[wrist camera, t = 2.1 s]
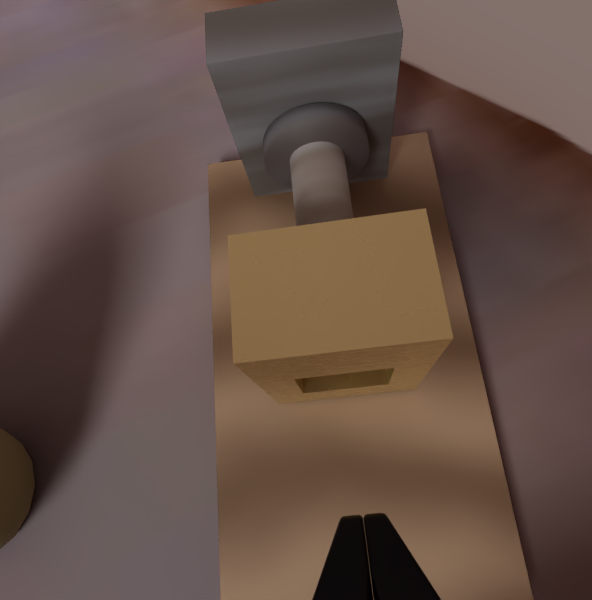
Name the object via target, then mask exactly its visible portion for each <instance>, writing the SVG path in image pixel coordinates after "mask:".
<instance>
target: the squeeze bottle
mask: <svg viewBox="0 0 592 600" xmlns="http://www.w3.org/2000/svg"><path fill="white" fill-rule="evenodd" d="M34 488H35V480H34V472H33V463H32V460H31V458H30V457H29V455H28V453H27V451H26V450H25V448H24V446H23V445H22V443H21V442H20V441H18V440H17V439H16V438H14V437H13V436H12V435H10V434H9V433H7V432H6V431H5V430H3V429H2V428H0V549H1V548H2V547H3V546H4V545H5V544H6V543H7V542H9V541H10V540H11V539H12V538H13V537H14V536H15V535H16V533H17V531H18V530H19V528H20V526H21V525H22V523H23V521H24V520H25V518H26V516H27V515H28V513H29V510H30V506H31V502H32V497H33V493H34Z"/></svg>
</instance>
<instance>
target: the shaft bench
mask: <svg viewBox="0 0 592 600" xmlns="http://www.w3.org/2000/svg"><path fill="white" fill-rule="evenodd" d="M205 36H206V64H207V67H208V70H209V73H210V75H211V78H212V81H213V84H214V86H215V89H216V92H217V94H218V97H219V100H220V103H221V105H222V108H223V111H224V114H225V116H226V119H227V122H228V125H229V127H230V130H231V133H232V135H233V138H234V141H235V144H236V146H237V149H238V152H239V155H240V157H241V159H240V160H234V161H227V162H220V163H214V164H208V182H209V216H210V250H211V285H212V319H213V353H214V387H215V421H216V455H217V489H218V523H219V558H220V592H221V600H312V599H313V596H314V593H315V590H316V587H317V584H318V581H319V578H320V575H321V572H322V570H323V567H324V564H325V561H326V558H327V555H328V552H329V549H330V546H331V543H332V541H333V538H334V535H335V532H336V529H337V526H338V523H339V520H340V519H341V517H343V516H349V515H361V516H362V517H363V521H364V515H366V514H372V513H384V514H386V515H387V517H388V518H389V520H390V521H391V523H392V524H393V526H394V527H395V529H396V530H397V532H398V533H399V535H400V537H401V538H402V540H403V541H404V543H405V544H406V546H407V547H408V549H409V550H410V552H411V554H412V555H413V557H414V558H415V560H416V561H417V563H418V564H419V566H420V567H421V569H422V571H423V572H424V574H425V575H426V577H427V578H428V580H429V581H430V583H431V584H432V586H433V588H434V589H435V591H436V592H437V594H438V595H439V597H440V598H441V600H533V595H532V591H531V587H530V582H529V578H528V573H527V569H526V565H525V560H524V556H523V552H522V547H521V543H520V538H519V534H518V530H517V525H516V521H515V516H514V512H513V508H512V503H511V499H510V495H509V490H508V486H507V481H506V477H505V473H504V468H503V464H502V459H501V455H500V451H499V446H498V442H497V438H496V433H495V429H494V424H493V420H492V416H491V411H490V407H489V402H488V398H487V394H486V389H485V385H484V380H483V376H482V372H481V367H480V363H479V359H478V354H477V350H476V345H475V341H474V337H473V332H472V328H471V323H470V319H469V315H468V310H467V306H466V302H465V297H464V293H463V288H462V284H461V280H460V275H459V271H458V266H457V262H456V258H455V253H454V249H453V245H452V240H451V236H450V231H449V227H448V223H447V218H446V214H445V209H444V205H443V201H442V196H441V192H440V188H439V183H438V179H437V174H436V170H435V166H434V161H433V157H432V152H431V148H430V144H429V139H428V135H427V132H421V133H414V134H407V135H401V136H394V137H392V128H393V119H394V110H395V101H396V92H397V83H398V74H399V65H400V56H401V47H402V38H403V28H402V23H401V19H400V15H399V10H398V6H397V1H396V0H279V1H273V2H267V3H262V4H256V5H250V6H244V7H239V8H233V9H227V10H222V11H216V12H210V13H205ZM424 208H426V211H427V216H428V221H429V225H430V230H431V235H432V239H433V244H434V249H435V254H436V258H437V263H438V268H439V272H440V277H441V282H442V287H443V291H444V296H445V301H446V305H447V310H448V315H449V319H450V324H451V329H452V334H453V340H452V341H451V342H450V344H449V345H448V346H447V348H446V349H445V350H444V352H443V353H442V354H441V356H440V357H439V358H438V360H437V361H436V362H435V364H434V365H433V366H432V368H431V369H430V370H429V372H428V373H427V374H426V376H425V377H424V378H423V380H422V381H421V382H420V384H419V385H418V386H417V388H416V389H415V390H406V391H396V392H387V393H378V394H368V395H359V396H350V397H341V398H331V399H322V400H313V401H303V402H294V403H285V404H279V403H278V402H277V401H275V400H274V399H273V398H272V397H271V396H270V395H269V394H267V393H266V392H265V391H264V390H263V389H262V388H261V387H259V386H258V385H257V384H256V383H255V382H254V381H253V380H251V379H250V378H249V377H248V376H247V375H246V374H244V373H243V372H242V371H241V370H240V369H239V368H238V367H236V366H235V365H234V364H233V347H232V324H231V302H230V279H229V256H228V235H235V234H242V233H249V232H256V231H264V230H271V229H278V228H286V227H293V226H300V225H307V224H315V223H322V222H329V221H337V220H344V219H351V218H358V217H366V216H373V215H380V214H388V213H395V212H402V211H409V210H417V209H424ZM364 529H365V527H364ZM365 537H366V535H365ZM366 545H367V543H366ZM367 552H368V551H367ZM368 560H369V559H368ZM369 568H370V566H369ZM370 576H371V574H370ZM371 584H372V582H371ZM372 592H373V590H372ZM373 600H374V598H373Z"/></svg>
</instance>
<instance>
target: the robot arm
mask: <svg viewBox="0 0 592 600" xmlns="http://www.w3.org/2000/svg"><path fill="white" fill-rule="evenodd" d="M364 527H365V529H364ZM365 535H366V537H365ZM366 543H367V545H366ZM367 551H368V552H367ZM368 559H369V560H368ZM369 566H370V568H369ZM370 574H371V576H370ZM371 582H372V584H371ZM372 590H373V592H372ZM373 598H374V600H441V598H440V597H439V595H438V594H437V592H436V591H435V589H434V588H433V586H432V584H431V583H430V581H429V580H428V578H427V577H426V575H425V574H424V572H423V571H422V569H421V567H420V566H419V564H418V563H417V561H416V560H415V558H414V557H413V555H412V554H411V552H410V550H409V549H408V547H407V546H406V544H405V543H404V541H403V540H402V538H401V537H400V535H399V533H398V532H397V530H396V529H395V527H394V526H393V524H392V523H391V521H390V520H389V518H388V517H387V515H386V514H384V513H372V514H366V515H364V521H363V517H362V516H361V515H349V516H343V517H341V519H340V520H339V523H338V526H337V529H336V532H335V535H334V538H333V541H332V543H331V546H330V549H329V552H328V555H327V558H326V561H325V564H324V567H323V570H322V572H321V575H320V578H319V581H318V584H317V587H316V590H315V593H314V596H313V599H312V600H373Z"/></svg>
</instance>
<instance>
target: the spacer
mask: <svg viewBox="0 0 592 600" xmlns="http://www.w3.org/2000/svg"><path fill="white" fill-rule="evenodd" d="M228 256H229V279H230V302H231V324H232V347H233V364H234V365H235V366H236V367H238V368H239V369H240V370H241V371H242V372H243V373H244V374H246V375H247V376H248V377H249V378H250V379H251V380H253V381H254V382H255V383H256V384H257V385H258V386H259V387H261V388H262V389H263V390H264V391H265V392H266V393H267V394H269V395H270V396H271V397H272V398H273V399H274V400H275V401H277V402H278V403H279V404H285V403H294V402H303V401H313V400H322V399H331V398H341V397H350V396H359V395H368V394H378V393H387V392H396V391H406V390H415V389H416V388H417V386H418V385H419V384H420V382H421V381H422V380H423V378H424V377H425V376H426V374H427V373H428V372H429V370H430V369H431V368H432V366H433V365H434V364H435V362H436V361H437V360H438V358H439V357H440V356H441V354H442V353H443V352H444V350H445V349H446V348H447V346H448V345H449V344H450V342H451V341H452V340H453V334H452V329H451V324H450V319H449V315H448V310H447V305H446V301H445V296H444V291H443V287H442V282H441V277H440V272H439V268H438V263H437V258H436V254H435V249H434V244H433V239H432V235H431V230H430V225H429V221H428V216H427V211H426V208H424V209H417V210H409V211H402V212H395V213H388V214H380V215H373V216H366V217H358V218H351V219H344V220H337V221H329V222H322V223H315V224H307V225H300V226H293V227H286V228H278V229H271V230H264V231H256V232H249V233H242V234H235V235H228Z"/></svg>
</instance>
